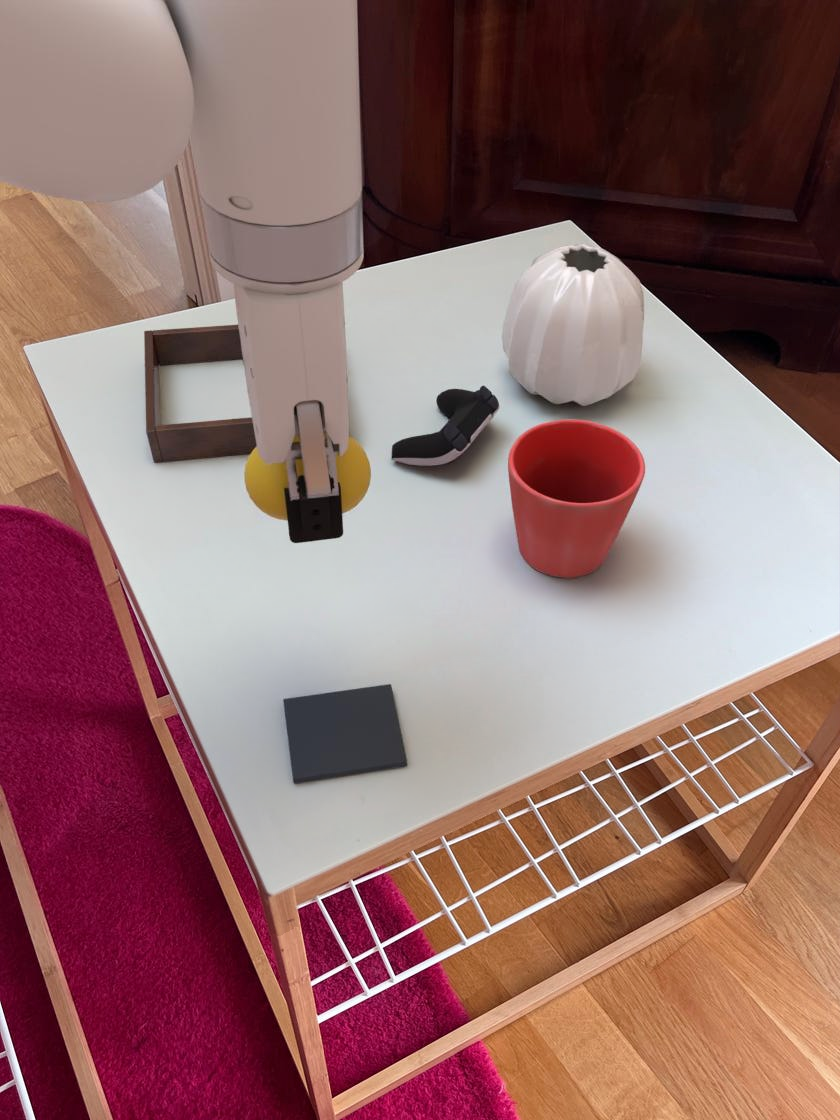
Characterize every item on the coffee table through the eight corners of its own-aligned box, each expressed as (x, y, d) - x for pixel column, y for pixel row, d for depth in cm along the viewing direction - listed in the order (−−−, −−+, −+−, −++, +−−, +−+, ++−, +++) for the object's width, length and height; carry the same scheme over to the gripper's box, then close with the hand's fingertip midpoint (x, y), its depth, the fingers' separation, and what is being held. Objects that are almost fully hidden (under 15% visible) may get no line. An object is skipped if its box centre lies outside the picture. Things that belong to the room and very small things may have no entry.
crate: (153, 462, 88) (145, 431, 86) (150, 361, 98) (144, 330, 95) (348, 444, 92) (347, 414, 89) (327, 348, 101) (325, 318, 98)
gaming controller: (412, 490, 91) (462, 468, 86) (382, 452, 90) (432, 428, 85) (464, 427, 98) (514, 403, 93) (438, 390, 96) (487, 364, 91)
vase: (541, 327, 106) (556, 206, 96) (656, 374, 102) (685, 253, 92) (472, 388, 98) (481, 264, 88) (593, 442, 94) (618, 318, 84)
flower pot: (488, 509, 87) (497, 420, 80) (607, 501, 89) (626, 413, 81) (510, 597, 81) (522, 509, 73) (638, 586, 82) (662, 500, 75)
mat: (293, 784, 68) (293, 779, 68) (283, 703, 72) (283, 698, 72) (407, 766, 70) (407, 761, 69) (390, 688, 74) (390, 683, 73)
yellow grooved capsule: (253, 543, 59) (243, 477, 55) (245, 486, 62) (235, 420, 58) (378, 528, 61) (377, 463, 57) (364, 473, 64) (362, 408, 60)
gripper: (194, 148, 52) (236, 425, 66) (219, 331, 41) (263, 613, 55) (335, 143, 53) (348, 414, 67) (394, 318, 43) (394, 595, 57)
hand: (309, 502), depth 61 cm, fingers closed on yellow grooved capsule, 5 cm apart
